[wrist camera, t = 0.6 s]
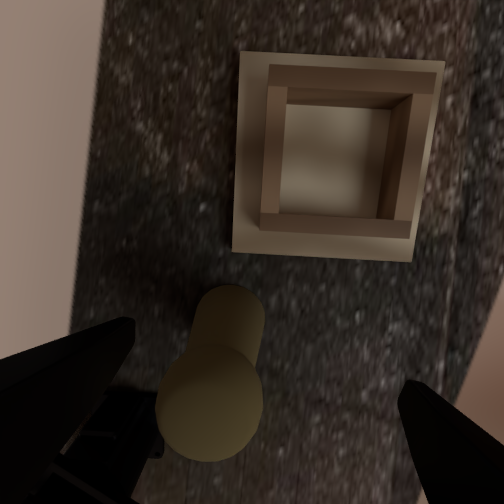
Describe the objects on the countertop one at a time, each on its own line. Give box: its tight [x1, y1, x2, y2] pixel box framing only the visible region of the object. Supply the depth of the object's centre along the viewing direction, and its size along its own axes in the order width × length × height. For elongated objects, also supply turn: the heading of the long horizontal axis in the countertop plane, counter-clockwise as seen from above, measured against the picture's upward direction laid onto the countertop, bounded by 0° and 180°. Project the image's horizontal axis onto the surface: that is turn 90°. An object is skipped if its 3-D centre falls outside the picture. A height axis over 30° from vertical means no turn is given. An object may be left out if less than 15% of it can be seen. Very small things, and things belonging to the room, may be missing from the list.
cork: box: [155, 285, 265, 462], centre depth 16 cm, size 6×6×11 cm
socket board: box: [232, 51, 445, 262], centre depth 17 cm, size 14×14×4 cm
